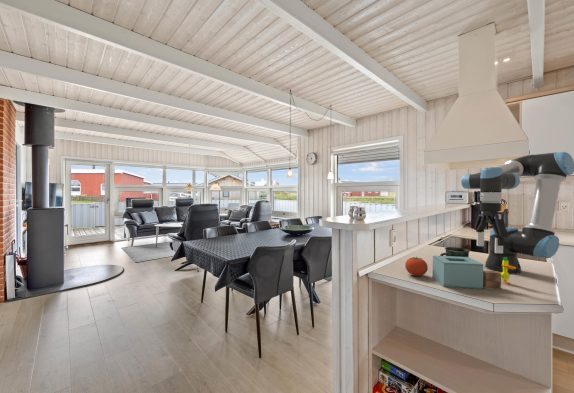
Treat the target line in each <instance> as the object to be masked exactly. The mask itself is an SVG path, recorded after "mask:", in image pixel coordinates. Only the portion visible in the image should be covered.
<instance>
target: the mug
mask: <svg viewBox="0 0 574 393" xmlns="http://www.w3.org/2000/svg"><path fill="white" fill-rule="evenodd" d="M444 250H445V252H443V253H442V252H441V253H440V254H439V256H454V257H469V258H470V256H469V254H470V250H469V249H468V248H463V247H459V246H458V247H457V246H456V247H454V246H447V247H444Z"/></svg>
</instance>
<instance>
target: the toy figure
mask: <svg viewBox="0 0 574 393" xmlns="http://www.w3.org/2000/svg"><path fill="white" fill-rule="evenodd" d="M503 259H504V260H503V265H501V266H503V272H499V271H498V272H499V273H501V280H503V282H502V283H503V284H504V285H510V284H511V283H510V282H509V281H508V280H509V279H510V273H508V272H507V271H508V268H509V269H513V270H514V269H516V267H514V266H511V265H508V260H507V258H503Z"/></svg>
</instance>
